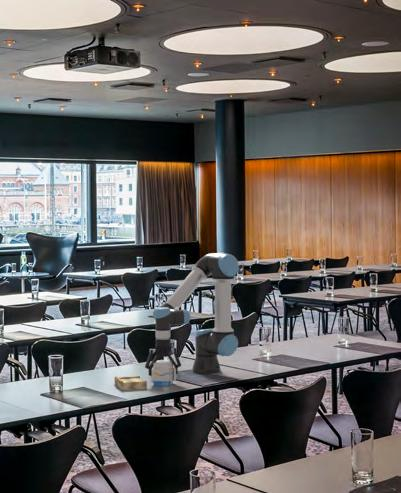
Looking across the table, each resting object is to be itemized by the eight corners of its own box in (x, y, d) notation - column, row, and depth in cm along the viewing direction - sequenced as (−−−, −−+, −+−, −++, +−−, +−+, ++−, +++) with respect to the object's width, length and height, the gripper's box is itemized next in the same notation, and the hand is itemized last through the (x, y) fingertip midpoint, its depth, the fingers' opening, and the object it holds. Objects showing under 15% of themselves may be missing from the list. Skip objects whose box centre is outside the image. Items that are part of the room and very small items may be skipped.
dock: (139, 383, 458) (139, 374, 457) (146, 388, 444) (146, 379, 444) (114, 385, 453) (114, 376, 453) (121, 390, 440) (121, 381, 440)
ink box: (169, 386, 449) (169, 363, 449) (153, 385, 451) (152, 362, 450) (173, 383, 458) (173, 360, 457) (157, 382, 459) (157, 359, 459)
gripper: (182, 336, 460) (183, 378, 462) (138, 338, 453) (138, 381, 454) (187, 338, 453) (187, 381, 454) (142, 340, 446) (142, 384, 447)
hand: (163, 381), depth 454 cm, fingers closed on ink box, 11 cm apart
